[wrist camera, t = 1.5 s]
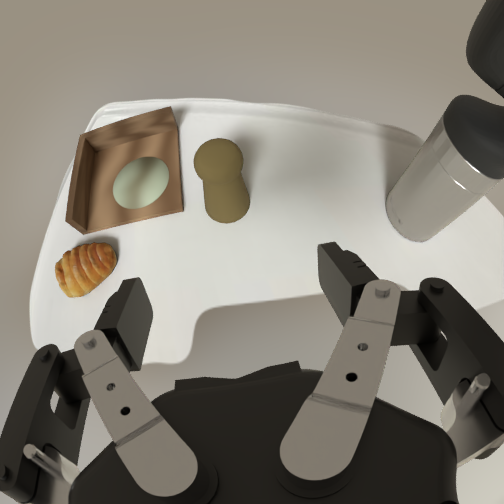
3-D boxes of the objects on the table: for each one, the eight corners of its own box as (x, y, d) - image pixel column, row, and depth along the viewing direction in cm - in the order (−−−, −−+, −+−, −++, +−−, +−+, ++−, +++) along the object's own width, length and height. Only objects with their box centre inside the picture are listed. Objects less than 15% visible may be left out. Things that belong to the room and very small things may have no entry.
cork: (204, 224, 37) (184, 178, 26) (205, 184, 39) (189, 132, 28) (250, 222, 37) (247, 173, 26) (249, 182, 39) (245, 128, 28)
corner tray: (177, 127, 43) (170, 106, 38) (183, 211, 38) (173, 192, 33) (92, 152, 42) (80, 135, 37) (83, 234, 37) (65, 221, 32)
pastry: (111, 234, 37) (99, 224, 33) (125, 276, 35) (112, 269, 32) (63, 263, 36) (48, 255, 32) (73, 304, 34) (57, 299, 30)
